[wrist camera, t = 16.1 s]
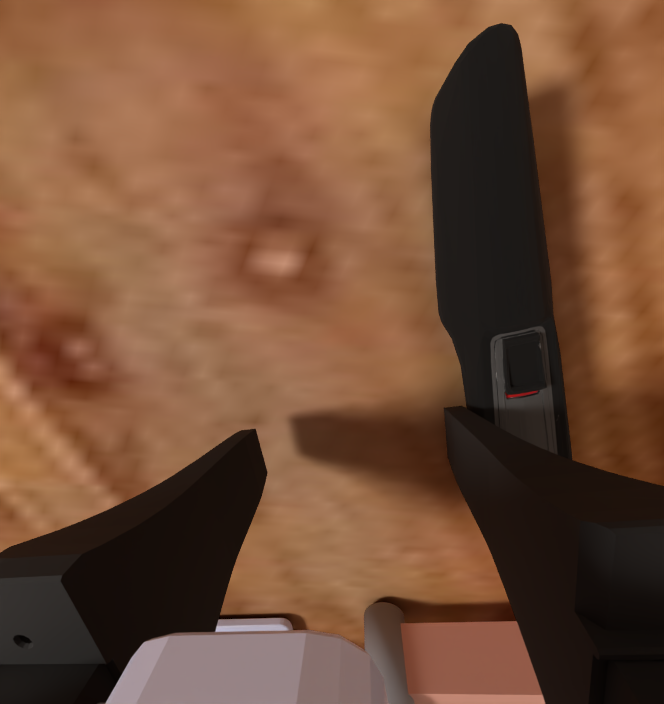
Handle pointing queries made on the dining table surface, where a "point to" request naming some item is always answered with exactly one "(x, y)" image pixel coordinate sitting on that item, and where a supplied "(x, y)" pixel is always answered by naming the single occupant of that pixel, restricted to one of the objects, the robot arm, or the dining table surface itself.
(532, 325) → the electric trimmer
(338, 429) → the dining table surface
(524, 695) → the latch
